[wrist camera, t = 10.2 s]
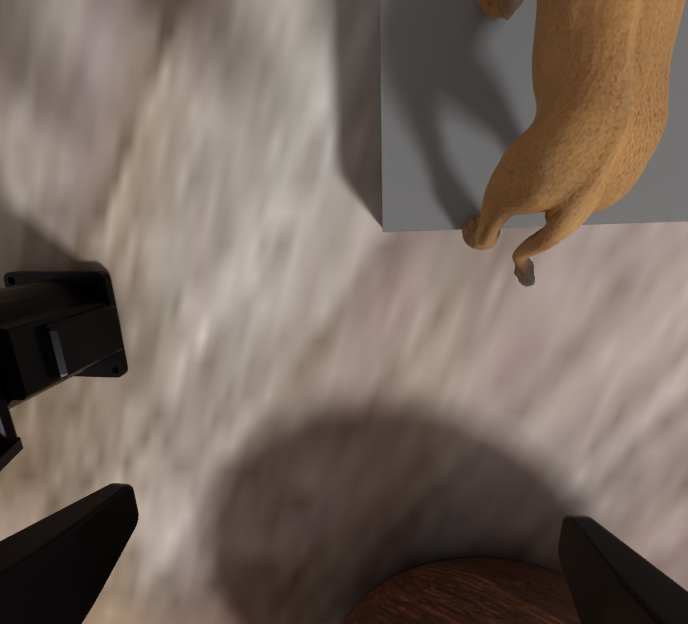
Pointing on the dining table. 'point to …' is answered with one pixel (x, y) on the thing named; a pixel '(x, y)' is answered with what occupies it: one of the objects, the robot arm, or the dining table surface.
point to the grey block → (489, 117)
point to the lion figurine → (581, 117)
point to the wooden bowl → (469, 595)
